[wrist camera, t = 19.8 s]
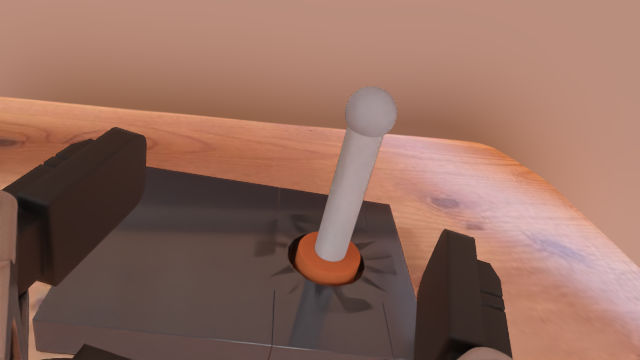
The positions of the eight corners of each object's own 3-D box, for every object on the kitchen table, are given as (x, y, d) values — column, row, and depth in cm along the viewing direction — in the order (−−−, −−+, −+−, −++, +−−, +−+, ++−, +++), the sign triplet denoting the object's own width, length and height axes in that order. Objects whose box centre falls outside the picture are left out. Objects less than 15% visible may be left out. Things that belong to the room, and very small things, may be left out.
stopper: (289, 303, 34) (343, 97, 26) (290, 260, 37) (337, 68, 29) (352, 311, 34) (423, 112, 26) (346, 267, 38) (407, 81, 30)
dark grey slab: (35, 351, 27) (31, 319, 25) (122, 188, 40) (122, 162, 39) (421, 389, 30) (434, 363, 29) (381, 227, 44) (389, 204, 42)
